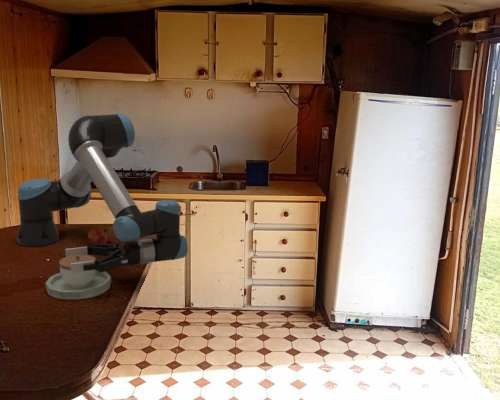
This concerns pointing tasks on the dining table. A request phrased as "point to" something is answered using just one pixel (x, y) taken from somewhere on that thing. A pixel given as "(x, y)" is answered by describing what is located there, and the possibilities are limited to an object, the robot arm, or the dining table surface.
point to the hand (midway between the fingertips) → (68, 260)
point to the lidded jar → (79, 277)
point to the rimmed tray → (64, 292)
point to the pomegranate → (98, 236)
